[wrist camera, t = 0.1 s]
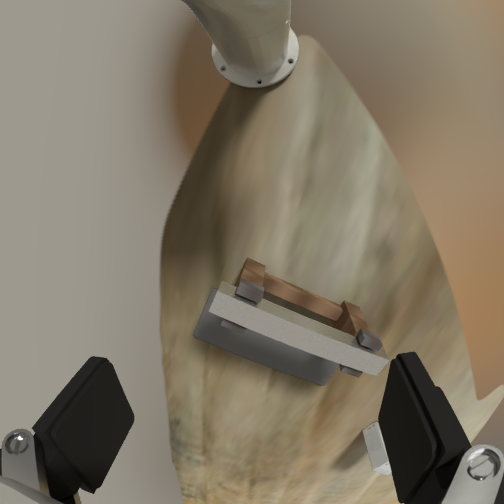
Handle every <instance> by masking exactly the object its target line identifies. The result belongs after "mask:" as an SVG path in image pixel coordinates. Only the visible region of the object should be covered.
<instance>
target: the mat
mask: <svg viewBox="0 0 504 504" xmlns="http://www.w3.org/2000/svg"><path fill="white" fill-rule="evenodd" d="M217 291H218V290H217V289H215V288H213V289H212V291H211V294H210V296H209V298H208V301H207V303H206V306H205V308H204V310H203V313H202V315H201V317H200V320H199V322H198V325H197V327H196V329H195V332H194V334H193V336H195V337H197V338H199V339H202V340H204V341H206V342H208V343H211V344H213V345H215V346H218V347H220V348H222V349H225V350H227V351H230V352H232V353H235V354H237V355H239V356H242V357H244V358H247V359H249V360H252V361H255V362H257V363H260V364H262V365H265V366H268V367H270V368H273V369H276V370H278V371H281V372H284V373H287V374H290V375H292V376H295V377H298V378H301V379H304V380H307V381H310V382H313V383H316V384H319V385H322V386H324V385H325V383H326V382H327V381H328V380H329V378H330V377H331V376H332V374H333V373H334V372H335V370H336V369H337V368H338V367H339V363H336V362H333V361H330V360H328V359H325V358H322V357H319V356H317V355H314V354H311V353H308V352H306V351H303V350H301V349H298V348H295V347H293V346H290V345H288V344H285V343H282V342H280V341H277V340H275V339H272V338H270V337H267V336H265V335H262V334H260V333H257V332H255V331H253V330H250V329H248V328H247V329H246V331H245V333H244V335H243V334H240V333H238V332H235V331H233V330H231V329H228V328H226V327H224V326H221V323H222V320H223V318H222V317H220V316H218V315H215V314H213V313H211V312H209V309H210V307H211V304H212V302H213V300H214V298H215V295H216V293H217Z"/></svg>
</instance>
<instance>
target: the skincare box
mask: <svg viewBox="0 0 504 504" xmlns="http://www.w3.org/2000/svg"><path fill="white" fill-rule="evenodd" d="M363 435H364V439H365V443H366V447H367V451H368V454H369V458H370V462H371V466H372V470H373V471H376V472H379V473H382V474H385V475H388V474H390V473H392V472H391V468H390V464H389V460H388V456H387V452H386V448H385V445H384V441H383V437H382V434H381V430H380V427H379V423H378V422H374V423H372V424H371V425H369V426H368V427H366V428H365V429H363Z"/></svg>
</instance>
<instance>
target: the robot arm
mask: <svg viewBox="0 0 504 504" xmlns="http://www.w3.org/2000/svg"><path fill="white" fill-rule="evenodd" d="M182 1H183V2H184V3H186V4H187V5H188V7H189V8H190V9H191V10H192V11H193V13H194V14H195V15H196V17H197V19H198V20H199V22H200V23H201V24H202V26H203V28H204V29H205V31H206V32H207V34H208V35H209V37H210V39H211V40H212V42H213V44H212V50H211V52H212V53H211V55H212V59H213V63H214V65H215V67H216V69H217V70H218V71H219V73H220V74H221V75H222V76H223V77H224V78H225V79H227V80H228V81H230V82H231V83H234V84H236V85H238V86H242V87H246V88H263V87H267V86H271V85H273V84H276V83H278V82H280V81H281V80H283V79H284V78H286V77H287V76H288V75H289V74H290V73H291V72H292V70H293V69H294V67H295V65H296V63H297V61H298V56H299V44H298V40H297V37H296V35H295V34H294V32H293V31H292V29H291V28H290V12H291V0H182ZM289 62H292V64H289ZM224 69H226V71H223V70H224ZM259 81H260V82H261V84H258V82H259ZM378 421H379V427H380V430H381V434H382V437H383V441H384V445H385V448H386V452H387V456H388V460H389V464H390V468H391V472H392V476H393V480H394V484H395V488H396V492H397V497H398V501H399V503H404V504H504V456H503V454H502V453H501V451H500V450H498V449H497V448H496V447H494V446H491V445H486V444H481V445H476V446H474V447H472V446H471V444H470V442H469V440H468V438H467V436H466V434H465V432H464V430H463V428H462V426H461V424H460V422H459V421H458V419H457V417H456V415H455V413H454V411H453V409H452V407H451V405H450V404H449V402H448V400H447V398H446V396H445V395H444V393H443V391H442V390H441V388H440V387H438V386H436V387H435V385H434V383H433V381H432V380H431V378H430V376H429V374H428V373H427V371H426V369H425V367H424V366H423V364H422V362H421V360H420V359H419V357H418V355H417V354H416V353H415V352H408V353H402V354H398V355H397V356H396V359H393V360H392V361H391V364H390V369H389V374H388V379H387V383H386V388H385V392H384V396H383V400H382V404H381V408H380V412H379V417H378ZM133 423H134V414H133V411H132V409H131V407H130V405H129V402H128V400H127V398H126V396H125V394H124V391H123V389H122V386H121V384H120V382H119V379H118V377H117V374H116V372H115V369H114V367H113V365H112V363H110V362H109V360H108V359H107V358H102V357H95V356H93V357H90V358H89V359H88V361H87V362H86V363H85V364H84V365H83V366H82V368H81V369H80V370H79V371H78V372H77V373H76V375H75V376H74V377H73V378H72V379H71V380H70V382H69V383H68V384H67V385H66V386H65V388H64V389H63V390H62V391H61V392H60V394H59V395H58V396H57V397H56V399H55V400H54V401H53V402H52V403H51V405H50V406H49V407H48V408H47V410H46V411H45V412H44V413H43V415H42V416H41V417H40V418H39V420H38V421H37V422H36V424H35V425H34V426H33V427H32V429H33V430H34V432H35V434H34V436H33V435H32V434H31V432H29V431H28V430H26V429H16V430H14V431H12V432H10V433H9V434H7V436H6V437H5V438H4V440H3V442H2V449H0V504H81V501H80V497H79V494H78V490H79V488H81V489H83V490H85V491H87V492H90V493H93V494H94V493H95V491H96V489H97V488H99V487H101V485H102V483H103V481H104V479H105V477H106V475H107V473H108V471H109V469H110V467H111V465H112V463H113V461H114V460H115V458H116V456H117V454H118V452H119V449H120V448H121V446H122V444H123V442H124V440H125V438H126V436H127V434H128V432H129V430H130V429H131V427H132V425H133Z"/></svg>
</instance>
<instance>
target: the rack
mask: <svg viewBox="0 0 504 504" xmlns="http://www.w3.org/2000/svg"><path fill="white" fill-rule="evenodd" d="M235 287H238V288H237V291H236V294H238V295H241V296H243V297H245V298H248V299H250V300H252V301H255V302H257V303H259V304H260V302H261V300H262V298H263V295H264V291H266V292H268V293H271V294H273V295H275V296H277V297H280V298H282V299H284V300H287V301H289V302H291V303H294V304H296V305H299V306H301V307H303V308H306V309H308V310H310V311H313V312H315V313H318V314H320V315H322V316H325V317H327V318H330V319H332V322H333V326H334V328H335V329H337V330H340V331H342V332H345V333H348V334H350V335H353V336H355V337H358V339H359V342H360V344H361V345H363V346H366V347H368V348H371V349H374V350H376V351H379V350H380V349H381V347H382V346H383V345H382V343H381V341H380V338H379V336H378V335H376V334H373V333H371V332H370V330H369V327H368V325H367V323H366V321H365V319H364V317H363V314H362V312H361V310H360V308H359V307H358V306H355V305H353V304H351V303H348V302H346V301H344V302H343V303H342V305H338V304H336V303H334V302H331V301H329V300H327V299H325V298H322V297H320V296H318V295H315V294H313V293H311V292H308V291H306V290H304V289H302V288H299V287H297V286H295V285H292V284H290V283H288V282H286V281H283V280H281V279H279V278H277V277H274V276H272V275H270V274H268V273H265V265H262V264H260V263H258V262H256V261H253V260H251V259H249V258H247V260H246V262H245V264H244V266H243V269H242V271H241V273H240V275H239V277H238V279H237V282H236V285H235ZM221 326H224V327H226V328H228V329H231V330H233V331H235V332H238V333H240V334H243V335H244V333H245V331H246V329H247V328H245V327H243V326H241V325H238V324H236V323H234V322H231V321H229V320H227V319H224V318H223V320H222V323H221ZM339 366H340V370H341V372H344V373H347V374H350V375H353V376H356V377H359V376H360V375H361V374H362V373H363V372H362V371H359V370H356V369H353V368H350V367H347V366H345V365H342V364H339Z"/></svg>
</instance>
